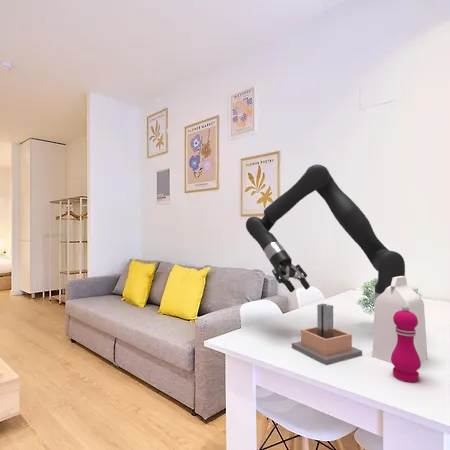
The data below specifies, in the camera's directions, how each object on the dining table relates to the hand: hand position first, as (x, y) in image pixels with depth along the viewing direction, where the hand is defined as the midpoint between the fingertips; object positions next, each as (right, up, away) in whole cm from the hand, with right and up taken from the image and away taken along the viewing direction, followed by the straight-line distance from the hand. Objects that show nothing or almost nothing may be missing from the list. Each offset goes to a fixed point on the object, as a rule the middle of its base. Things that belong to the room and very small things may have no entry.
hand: (300, 289), depth 115 cm
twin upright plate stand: (+6, -18, -8) cm, 20 cm away
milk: (+28, -19, -14) cm, 37 cm away
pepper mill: (+23, -19, -27) cm, 40 cm away
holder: (+6, -19, -8) cm, 22 cm away
